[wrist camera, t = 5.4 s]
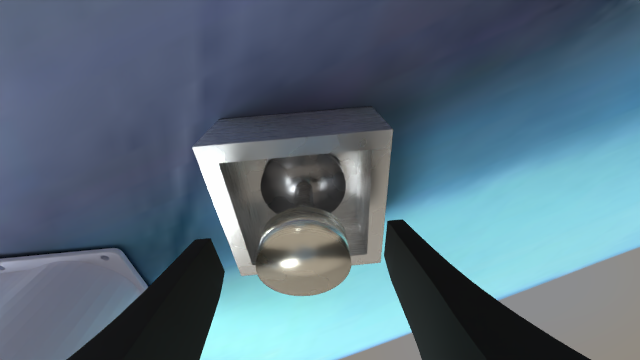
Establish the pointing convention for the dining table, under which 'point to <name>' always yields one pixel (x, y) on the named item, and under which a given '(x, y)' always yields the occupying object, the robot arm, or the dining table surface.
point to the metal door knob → (303, 226)
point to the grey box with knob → (288, 141)
